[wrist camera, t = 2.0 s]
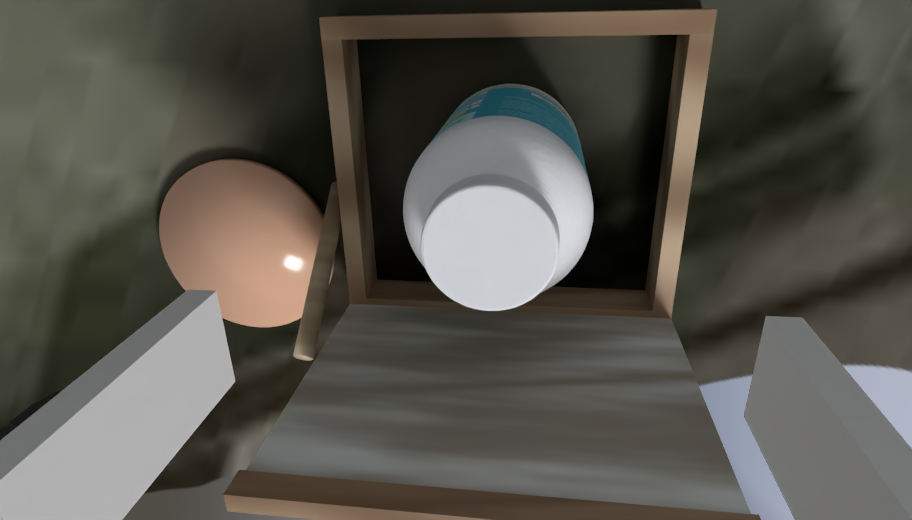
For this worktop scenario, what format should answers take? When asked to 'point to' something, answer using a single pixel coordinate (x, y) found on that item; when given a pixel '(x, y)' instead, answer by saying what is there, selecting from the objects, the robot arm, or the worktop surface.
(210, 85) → the worktop surface
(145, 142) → the worktop surface
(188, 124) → the worktop surface
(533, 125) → the pill bottle
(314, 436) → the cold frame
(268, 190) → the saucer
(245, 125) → the worktop surface
